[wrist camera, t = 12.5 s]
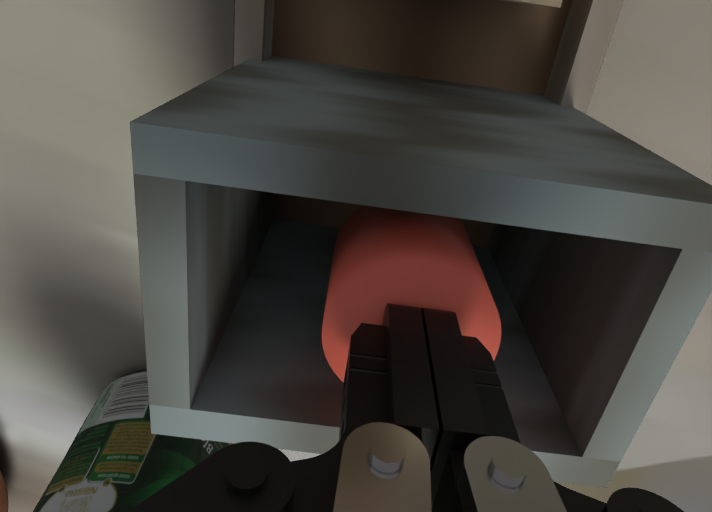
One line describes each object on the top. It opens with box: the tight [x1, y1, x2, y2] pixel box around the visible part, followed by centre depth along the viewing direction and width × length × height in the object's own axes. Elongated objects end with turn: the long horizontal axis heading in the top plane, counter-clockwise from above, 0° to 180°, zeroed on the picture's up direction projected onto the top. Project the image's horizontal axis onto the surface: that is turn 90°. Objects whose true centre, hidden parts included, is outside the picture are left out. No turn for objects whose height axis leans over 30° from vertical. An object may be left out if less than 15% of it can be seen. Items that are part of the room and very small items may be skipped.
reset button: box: [322, 205, 501, 383], centre depth 13 cm, size 4×4×4 cm
